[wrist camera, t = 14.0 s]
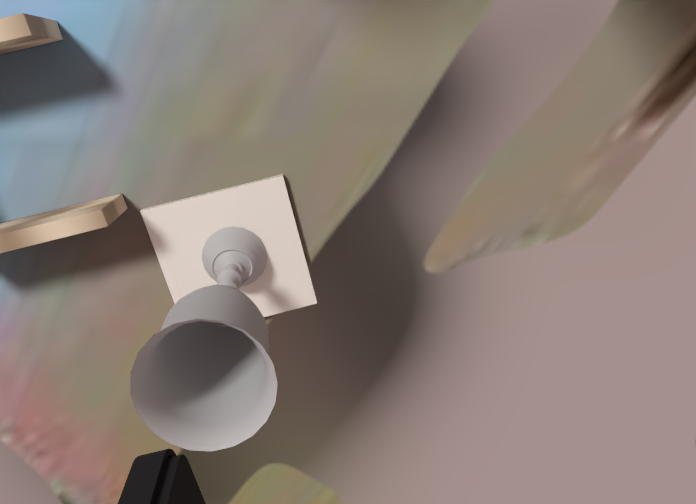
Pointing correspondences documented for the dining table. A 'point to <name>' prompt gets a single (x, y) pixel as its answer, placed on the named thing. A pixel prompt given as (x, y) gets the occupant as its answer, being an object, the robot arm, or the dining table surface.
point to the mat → (234, 211)
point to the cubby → (64, 221)
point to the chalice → (210, 355)
